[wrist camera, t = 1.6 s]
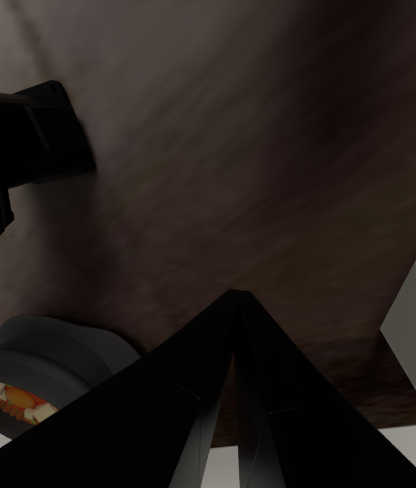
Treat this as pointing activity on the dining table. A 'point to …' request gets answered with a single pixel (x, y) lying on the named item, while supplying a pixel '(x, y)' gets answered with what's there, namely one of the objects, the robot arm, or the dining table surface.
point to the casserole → (52, 367)
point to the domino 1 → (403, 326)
